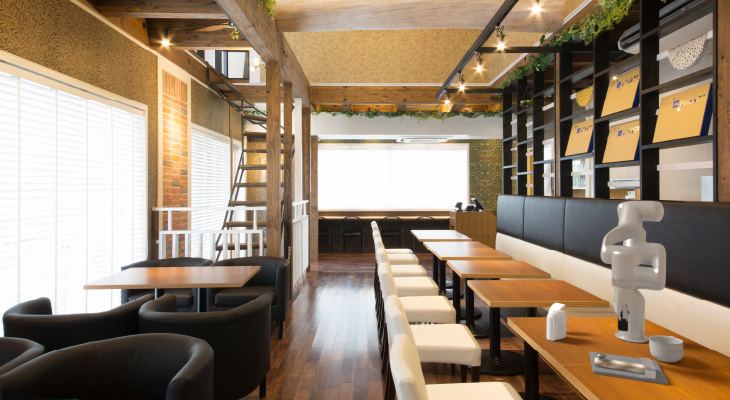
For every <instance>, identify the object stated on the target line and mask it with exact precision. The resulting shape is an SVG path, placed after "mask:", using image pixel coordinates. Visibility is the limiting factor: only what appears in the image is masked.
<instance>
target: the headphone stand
mask: <svg viewBox="0 0 730 400" xmlns="http://www.w3.org/2000/svg"><path fill="white" fill-rule="evenodd" d="M565 307H566V304H563V303H559V302H555V303H553V304H552V305H551V306H550V308H549V310H548V313H550V312H551V311H553V310H562V309H563V308H565Z"/></svg>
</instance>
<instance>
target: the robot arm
mask: <svg viewBox="0 0 730 400" xmlns="http://www.w3.org/2000/svg"><path fill="white" fill-rule="evenodd" d="M616 210H617V216H618V223H617V226H615V227H614V228H613V229H611V230H609V232H608V233H606V235H605V236H603V239H602V244H601V249H600V259H601V261H602V262H603V263H605V264H609V265H611V286H612V287H613V305H612V306H613V310H614V312H615V314H616V315H617V330H618V331H616V332H615V333H614V336H615V338H617V339H620V340H622V341H626V342H629V343H639V344H641V343H642V344H644V343H647V342H649V336H647V335H645V332H646V331H645V325H646V323H645V321H646V318H645V317H646V313H645V312H646V299H645V296H644V295H643V293H642V292H641V291H640V290H647V291H657V292H659V291H662V290H664V289H665V286H666V283H667V282H666V278H667V277H666V276H667V252H666V247H664V245H663V244H662V243H655V242H647V241H646V239H647V231H646V230H645V228H644V227H643V223H644V222H657V223H659V222H661V221H662V219H663V217H664V213H665V209H664V206H663V203H662V202H660V201H657V200H656V201H655V200H628V201H622V202H619V204H618V205H617V208H616ZM621 242H623V243H622V245H616V243H621ZM640 265H647V266H640ZM648 265H649V266H652V267H649V266H648Z"/></svg>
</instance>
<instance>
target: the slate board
mask: <svg viewBox="0 0 730 400" xmlns="http://www.w3.org/2000/svg"><path fill="white" fill-rule="evenodd" d="M597 353H598V352H595V351H589V358H590V362H591V369H592V373H593V374H596V375H602V376H607V377H609V376H610V377H614V378H615V377H616V378H623V379H629V380H635V381H641V382H648V383H655V384H661V385H667V386H668V385H669V380H668V379H667V377H666V375H665V373H664V372H663V370H662V368H661V367H660V364H659V363H658V360H655V359H654V360H653V359H650V360H651V361H652V363H653V365H654V366H655V368H656V379H650V378H645V377H644V374H642V373H636V372H630V371H624V370H618V369H612V368H603V367H598V366H596V365H595V358H596V357H598V356H597ZM605 354H606V355H607V357H606V358H605V359H610V360H616V361H623V362H629V363H635V364H641V365H642V363H641V361H640V357H632V356H624V355H617V354H611V353H610V354H609V353H605Z"/></svg>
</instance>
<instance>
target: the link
mask: <svg viewBox="0 0 730 400" xmlns="http://www.w3.org/2000/svg"><path fill="white" fill-rule="evenodd" d="M596 353H597V356H598V357H596V358H595V365H596V366H598V367H603V368H612V369H618V370H624V371H630V372H636V373H642V374H644V367H643V365H641V364H635V363H629V362H623V361H616V360H610V359H605V358H606V357H607V355H606V354H607V353H602V352H596Z"/></svg>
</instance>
